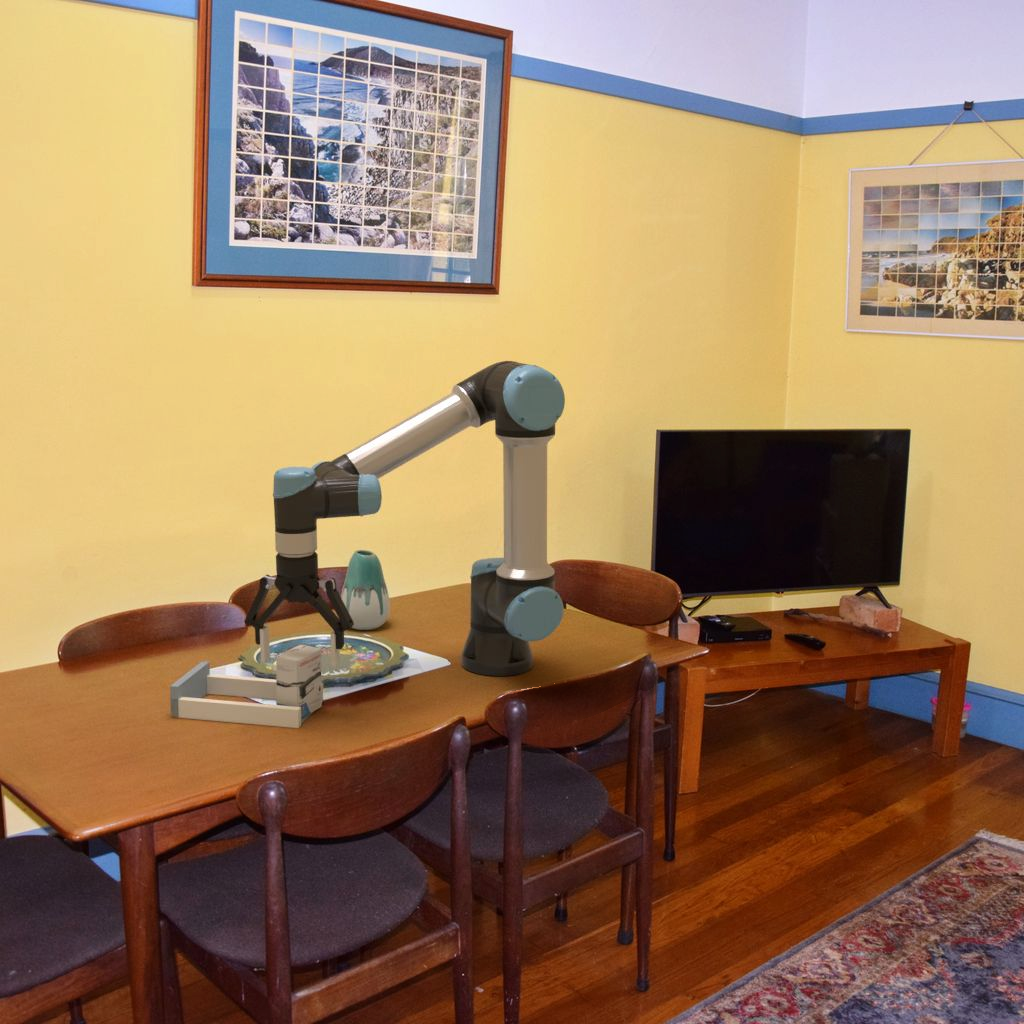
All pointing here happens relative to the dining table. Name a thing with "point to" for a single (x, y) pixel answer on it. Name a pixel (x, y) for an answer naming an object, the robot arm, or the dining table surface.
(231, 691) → the bay
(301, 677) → the ink box
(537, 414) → the robot arm
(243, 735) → the dining table surface
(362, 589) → the vase
